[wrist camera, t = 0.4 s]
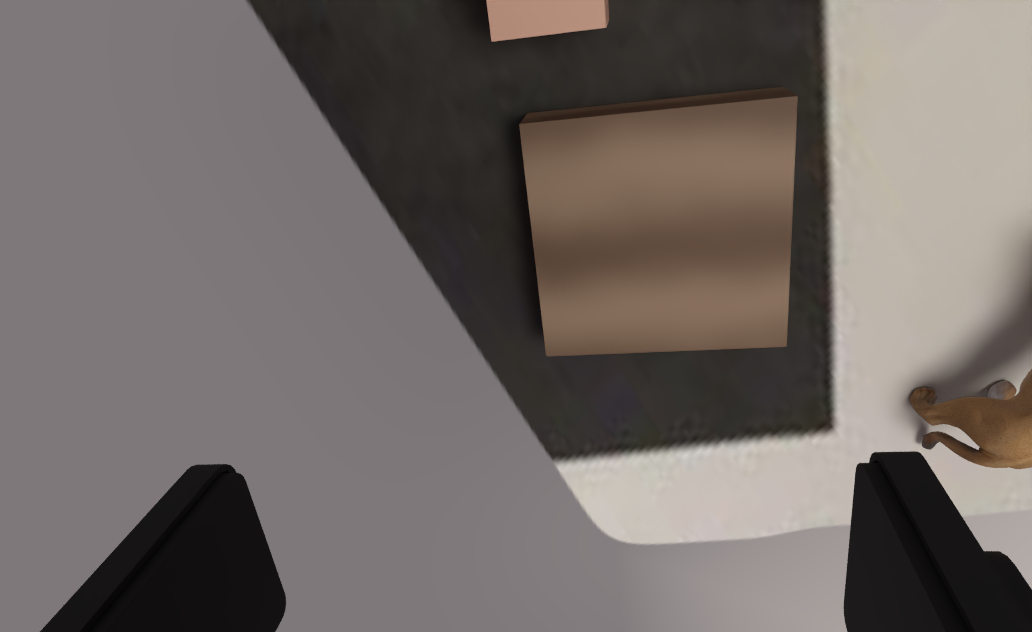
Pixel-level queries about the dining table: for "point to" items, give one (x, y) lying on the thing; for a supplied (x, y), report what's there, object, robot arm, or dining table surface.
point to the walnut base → (663, 222)
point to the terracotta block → (544, 17)
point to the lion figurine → (984, 424)
